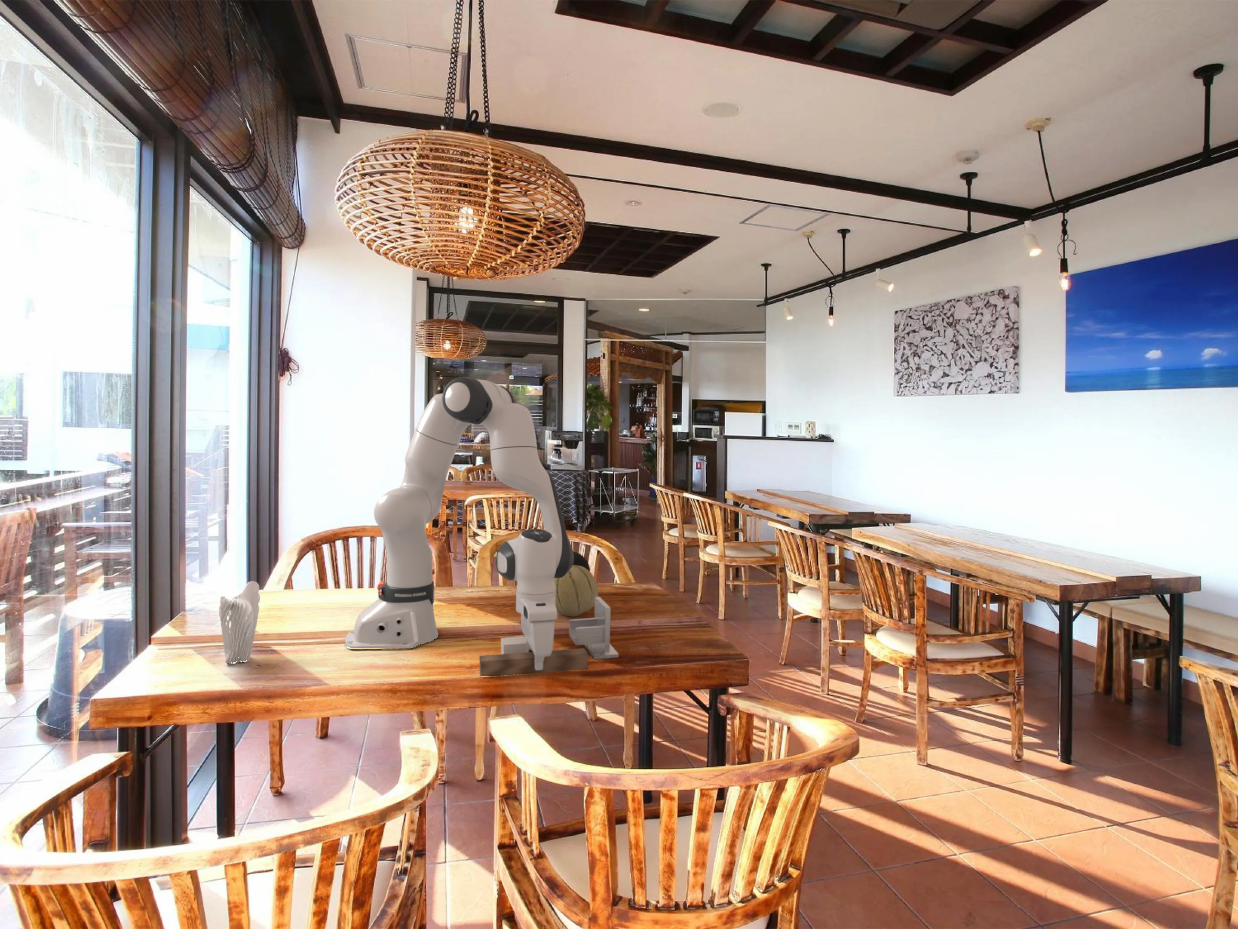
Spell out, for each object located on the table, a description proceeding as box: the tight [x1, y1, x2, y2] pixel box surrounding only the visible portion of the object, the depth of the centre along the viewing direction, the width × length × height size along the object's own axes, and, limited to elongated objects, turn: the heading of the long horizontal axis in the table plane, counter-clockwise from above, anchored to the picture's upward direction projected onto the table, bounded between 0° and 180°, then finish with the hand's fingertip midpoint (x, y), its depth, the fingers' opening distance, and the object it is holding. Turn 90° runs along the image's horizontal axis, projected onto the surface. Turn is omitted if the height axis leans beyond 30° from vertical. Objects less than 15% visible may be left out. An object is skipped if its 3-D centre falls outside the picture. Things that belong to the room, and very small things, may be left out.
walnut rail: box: [478, 647, 589, 677], centre depth 153 cm, size 24×4×4 cm, turn 106°
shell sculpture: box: [218, 580, 261, 664], centre depth 153 cm, size 8×8×18 cm
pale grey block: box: [500, 635, 528, 654], centre depth 161 cm, size 6×5×4 cm
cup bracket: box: [568, 596, 619, 660], centre depth 166 cm, size 10×12×12 cm
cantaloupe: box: [554, 565, 599, 617], centre depth 195 cm, size 15×15×15 cm
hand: (535, 662), depth 153 cm, fingers open, 7 cm apart
